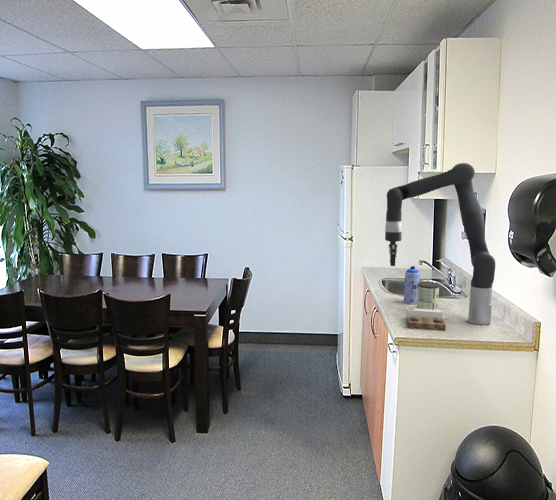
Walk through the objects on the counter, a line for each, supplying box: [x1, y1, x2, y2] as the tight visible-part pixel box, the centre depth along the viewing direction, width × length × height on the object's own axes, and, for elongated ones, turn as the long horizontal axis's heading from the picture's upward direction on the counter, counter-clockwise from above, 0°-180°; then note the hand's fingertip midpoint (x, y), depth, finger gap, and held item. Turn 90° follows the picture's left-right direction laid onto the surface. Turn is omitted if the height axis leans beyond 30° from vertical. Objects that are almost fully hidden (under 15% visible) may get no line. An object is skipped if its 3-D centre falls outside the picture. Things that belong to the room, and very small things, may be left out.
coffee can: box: [416, 281, 440, 310], centre depth 243 cm, size 10×10×14 cm
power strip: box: [405, 307, 444, 319], centre depth 228 cm, size 16×4×6 cm, turn 78°
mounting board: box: [406, 315, 447, 332], centre depth 220 cm, size 16×10×2 cm, turn 78°
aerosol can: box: [403, 265, 421, 306], centre depth 259 cm, size 8×8×20 cm
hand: (392, 264), depth 230 cm, fingers open, 8 cm apart
